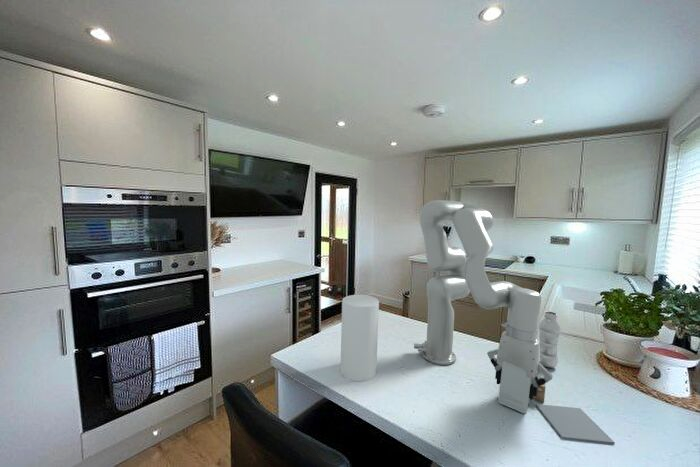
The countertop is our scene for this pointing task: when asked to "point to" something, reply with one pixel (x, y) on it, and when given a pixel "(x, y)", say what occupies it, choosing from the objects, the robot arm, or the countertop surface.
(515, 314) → the robot arm
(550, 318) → the plastic bottle
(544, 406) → the mat
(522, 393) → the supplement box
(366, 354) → the cylinder
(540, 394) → the letter cube
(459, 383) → the countertop surface
